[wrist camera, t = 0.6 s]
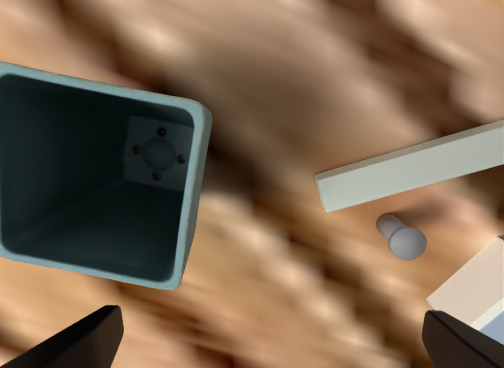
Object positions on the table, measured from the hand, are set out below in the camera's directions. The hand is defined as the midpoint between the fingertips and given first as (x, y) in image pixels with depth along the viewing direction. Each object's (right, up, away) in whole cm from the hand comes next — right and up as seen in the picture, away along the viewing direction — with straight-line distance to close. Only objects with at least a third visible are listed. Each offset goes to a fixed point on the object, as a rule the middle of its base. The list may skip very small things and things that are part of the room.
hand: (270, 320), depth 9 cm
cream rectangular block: (+17, -4, +15) cm, 23 cm away
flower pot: (-7, +6, +13) cm, 16 cm away
